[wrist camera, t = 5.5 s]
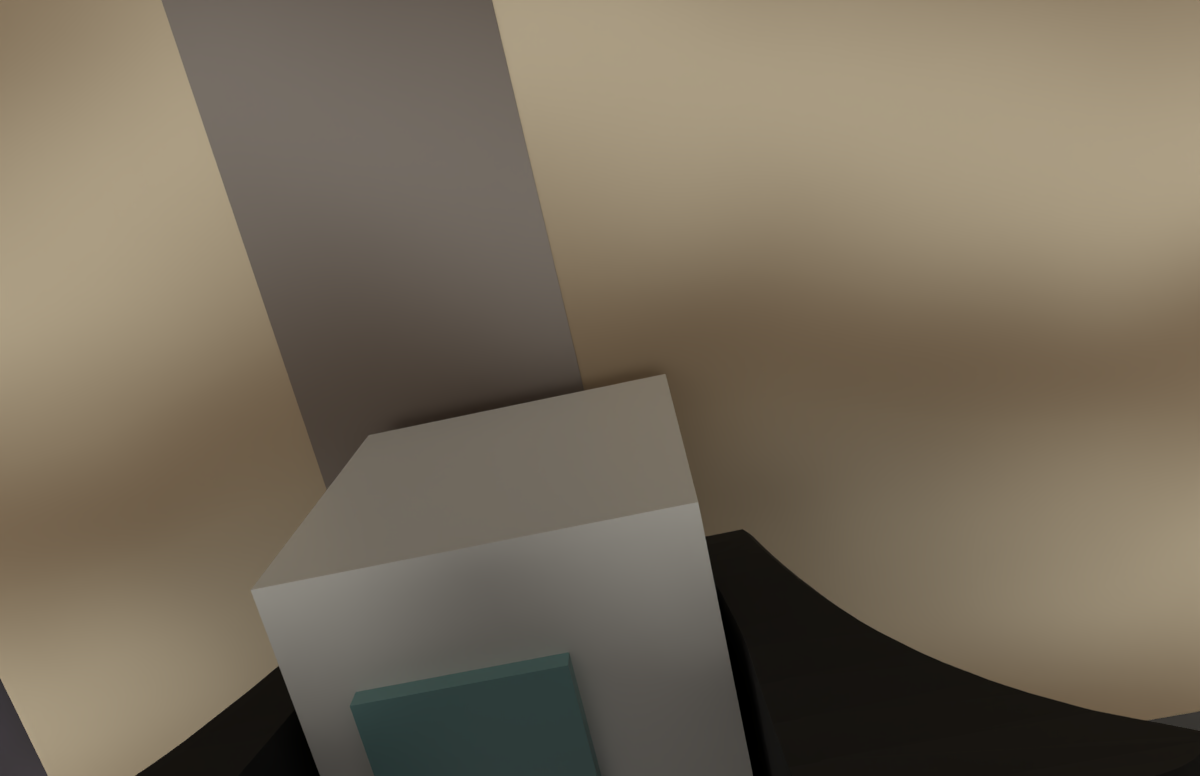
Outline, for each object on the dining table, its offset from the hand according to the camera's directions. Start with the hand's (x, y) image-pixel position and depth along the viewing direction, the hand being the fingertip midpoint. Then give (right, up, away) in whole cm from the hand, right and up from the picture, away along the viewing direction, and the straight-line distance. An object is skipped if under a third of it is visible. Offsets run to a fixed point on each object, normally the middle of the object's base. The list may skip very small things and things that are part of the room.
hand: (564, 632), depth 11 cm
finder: (0, 0, +1) cm, 1 cm away
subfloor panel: (+1, +4, +2) cm, 4 cm away
